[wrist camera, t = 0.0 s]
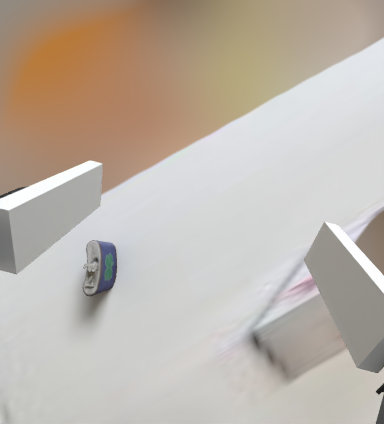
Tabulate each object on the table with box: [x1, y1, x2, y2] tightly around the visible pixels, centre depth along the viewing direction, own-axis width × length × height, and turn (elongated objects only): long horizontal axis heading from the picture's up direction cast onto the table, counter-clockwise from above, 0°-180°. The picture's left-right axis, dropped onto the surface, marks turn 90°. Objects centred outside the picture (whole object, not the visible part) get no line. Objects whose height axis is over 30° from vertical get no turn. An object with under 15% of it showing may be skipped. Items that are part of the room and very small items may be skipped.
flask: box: [83, 240, 117, 296], centre depth 43 cm, size 9×3×11 cm, turn 0°
